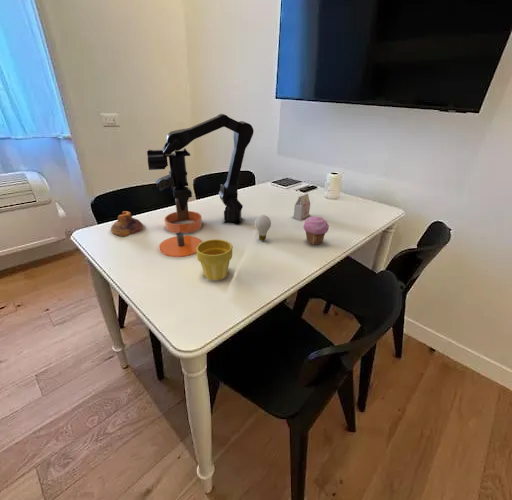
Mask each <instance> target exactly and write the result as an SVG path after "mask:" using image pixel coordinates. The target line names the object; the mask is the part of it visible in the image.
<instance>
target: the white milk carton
mask: <svg viewBox="0 0 512 500" xmlns="http://www.w3.org/2000/svg"><path fill="white" fill-rule="evenodd" d="M310 210H311V201H310V197H309V193H305V194H303V195H300V196H298V198H297V201H296V202H295V204H294V207H293V219H296V220H299V221H302V220H304V219H307V218H309V216H310Z"/></svg>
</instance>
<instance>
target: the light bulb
mask: <svg viewBox="0 0 512 500" xmlns="http://www.w3.org/2000/svg"><path fill="white" fill-rule="evenodd" d="M254 226H255V228H256V230H257V232H258V233H257V234H258V239H259V241H261V242H265V241H266V240H267V234H268V231H269V230H270V228H271V227H272V220H271V219H270V217H269V216H267V215H265V214H261V215H258V216H257V217H256V219H255V220H254Z"/></svg>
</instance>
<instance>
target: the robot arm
mask: <svg viewBox="0 0 512 500" xmlns="http://www.w3.org/2000/svg"><path fill="white" fill-rule="evenodd" d="M222 128H226V129H228V130H230V131H233V149H232V153H231V159H230V164H229V167H228V173H227V177H226V181H225V183H224V184H222V183H221V184H220V187H219V191H218V195H219V198H220V200H221V202H222V203H223V205H224V206H225V207H224V210H223V220H224V222H223V223H225V224H232V225H240V224H241V223H242V220H243V217H242V210H243V207H244V205H243V204H242V203H241V202H240V200H239V199H238V196H239V194H238V183H239V178H240V174H241V169H242V165H243V162H244V161H243V160H244V157H245V153H246V149H247V147H248V146H249V144H250V143H251V140H252V138H253V136H254V133H255V132H254V128H253V125H252V124H251V123H249V122H247V121H243V120H240V121H237V120H235V119H234V118H231V117H230V116H228V115H226V114H225V113H219V114H218V115H216V116H214V117H211V118H209V119H207V120H205V121H202V122H200V123H197V124H195V125H193V126H190V127H187V128H181V129H176V130H171V131H170V132H168V133H167V135H166V137H165V138H166V142H165V144H164V145H163V146H162V147H161V148H162V149H147V150H146V154H147V155H146V156H147V159H146V160H147V165H148V170H149V171H156V170H157V171H158V170H166V168H167V167H168V166H169V170H168V173H169V174H166V175H164V176H162V177H161V176H160V178H157V179H155V181H154V182H155V184H156V186H157V188H158V190H159V191H160V192H161V191H164V190H165V189H167V188H169V187H171V188H170V189H171V191H172V195H173V199H174V200H175V199H178V201H179V204H180V207H181V210H182V211H184V210H185V207H186V204H187V202H189V200H190V198H192V197H193V192H192V190H191V188H189V182H188V177H187V176H188V171H187V164H186V157H190V156H191V153H190V151H189V150H187V149H186V148H185V147H187V146H188V145H189V144H191V143H192V142H193V141H194V140H197V139H198V138H201V137H203V136H205V135H208V134H210V133H212V132H214V131H218V130H220V129H222Z"/></svg>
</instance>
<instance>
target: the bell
mask: <svg viewBox="0 0 512 500" xmlns="http://www.w3.org/2000/svg"><path fill="white" fill-rule="evenodd" d="M121 213H122V214H119V215H118V216H117V221H115V222H114V223H113V224H112V225H111V227H110V231H111V233H112V234H113V235H116V236H120V237H129V236H130V235H134V234H135V235H136V234H138V233H140V232H142V230H143V229H144V224H143V223H142V222H141V221H140V220H139V219H138V218H135V217H133V216H132V212H130V211H129V210H128V211H127V210H124V211H122V212H121Z"/></svg>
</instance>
